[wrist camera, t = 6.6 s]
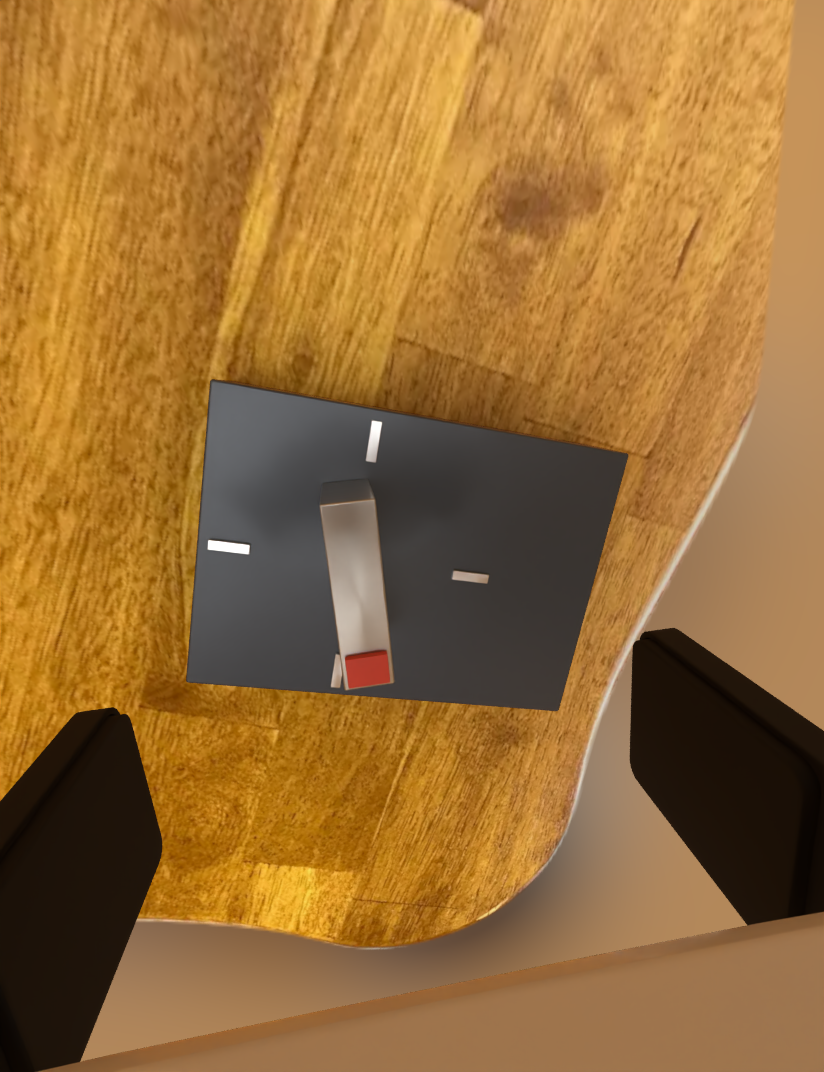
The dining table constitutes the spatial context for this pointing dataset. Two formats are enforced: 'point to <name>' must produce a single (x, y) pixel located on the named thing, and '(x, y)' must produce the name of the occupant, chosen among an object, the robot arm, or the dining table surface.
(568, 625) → the rotary switch block
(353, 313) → the dining table surface
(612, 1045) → the robot arm
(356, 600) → the gray slab
